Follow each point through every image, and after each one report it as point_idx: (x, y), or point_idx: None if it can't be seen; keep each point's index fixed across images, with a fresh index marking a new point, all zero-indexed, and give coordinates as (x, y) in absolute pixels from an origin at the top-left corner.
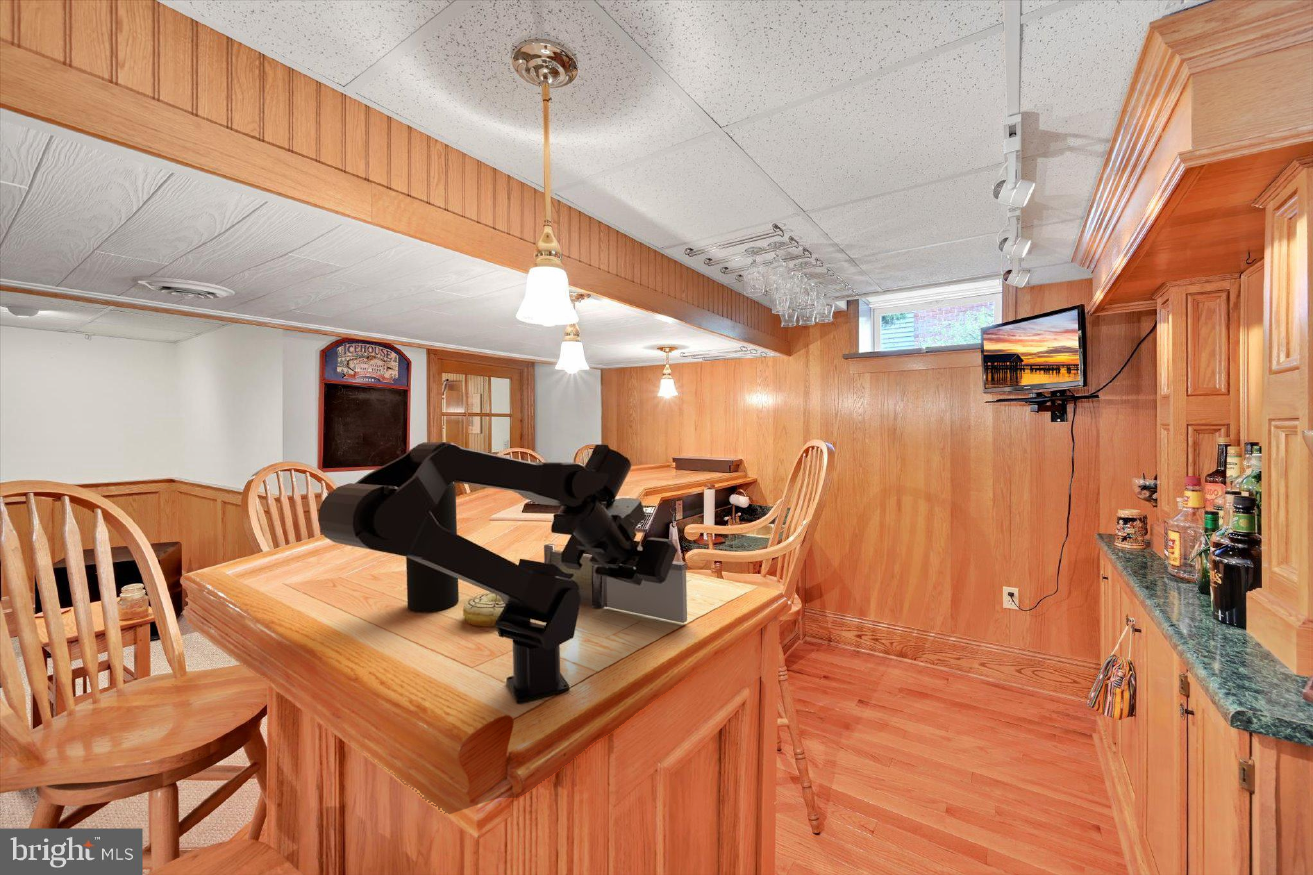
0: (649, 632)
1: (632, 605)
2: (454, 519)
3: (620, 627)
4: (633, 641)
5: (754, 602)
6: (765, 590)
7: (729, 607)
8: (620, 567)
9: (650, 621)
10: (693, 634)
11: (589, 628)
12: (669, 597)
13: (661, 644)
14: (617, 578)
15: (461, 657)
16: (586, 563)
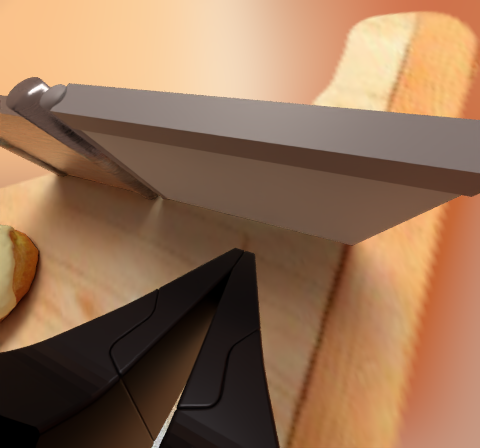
0: (287, 296)
1: (219, 207)
2: None
3: None
4: (269, 357)
5: (449, 85)
6: (442, 26)
7: None
8: (125, 446)
9: (269, 235)
10: (391, 288)
11: None
12: (329, 220)
13: (339, 365)
14: (154, 437)
15: None
16: (41, 133)
